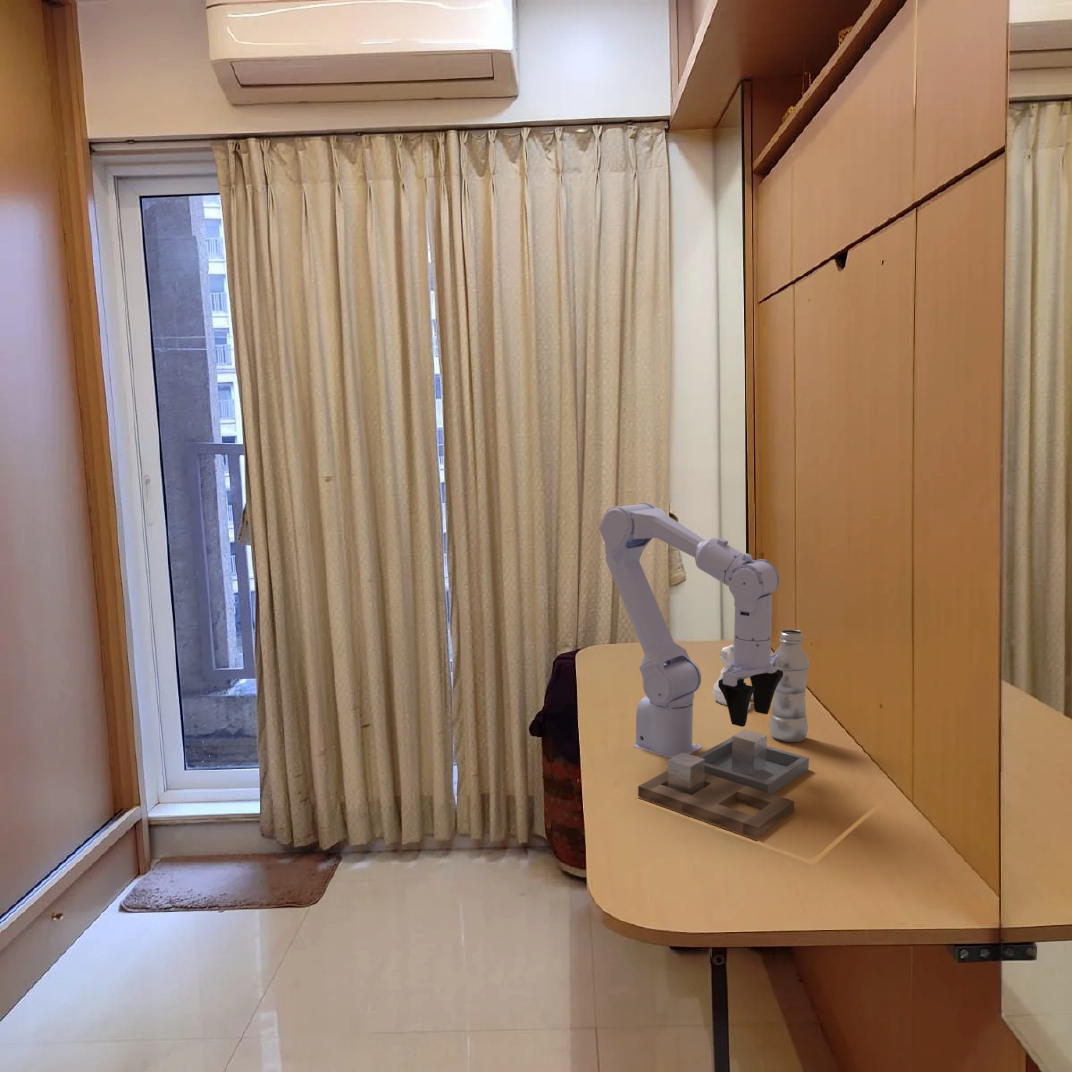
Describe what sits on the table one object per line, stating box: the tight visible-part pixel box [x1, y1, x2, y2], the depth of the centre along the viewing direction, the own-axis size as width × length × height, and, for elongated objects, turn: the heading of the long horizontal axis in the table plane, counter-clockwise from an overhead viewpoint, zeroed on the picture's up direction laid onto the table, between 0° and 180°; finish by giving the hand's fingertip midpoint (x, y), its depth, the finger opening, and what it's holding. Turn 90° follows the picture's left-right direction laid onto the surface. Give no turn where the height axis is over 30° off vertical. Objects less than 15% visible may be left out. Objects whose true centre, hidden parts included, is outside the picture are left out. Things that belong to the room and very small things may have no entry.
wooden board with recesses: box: [637, 769, 795, 842], centre depth 127 cm, size 20×11×2 cm, turn 47°
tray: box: [696, 736, 810, 795], centre depth 138 cm, size 14×14×2 cm
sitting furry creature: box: [712, 644, 753, 711], centre depth 173 cm, size 10×9×12 cm
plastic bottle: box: [768, 629, 810, 743], centre depth 152 cm, size 6×7×20 cm
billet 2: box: [731, 729, 768, 778], centre depth 138 cm, size 4×4×6 cm
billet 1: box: [667, 752, 705, 795], centre depth 130 cm, size 4×4×6 cm
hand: (750, 718), depth 137 cm, fingers open, 7 cm apart
